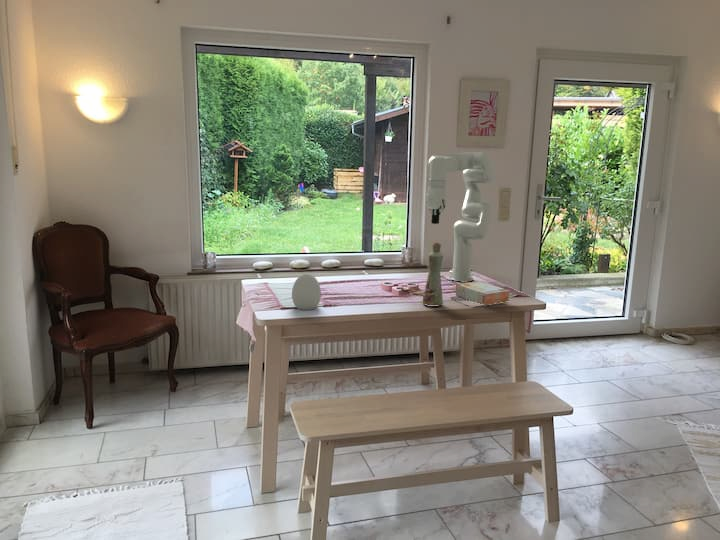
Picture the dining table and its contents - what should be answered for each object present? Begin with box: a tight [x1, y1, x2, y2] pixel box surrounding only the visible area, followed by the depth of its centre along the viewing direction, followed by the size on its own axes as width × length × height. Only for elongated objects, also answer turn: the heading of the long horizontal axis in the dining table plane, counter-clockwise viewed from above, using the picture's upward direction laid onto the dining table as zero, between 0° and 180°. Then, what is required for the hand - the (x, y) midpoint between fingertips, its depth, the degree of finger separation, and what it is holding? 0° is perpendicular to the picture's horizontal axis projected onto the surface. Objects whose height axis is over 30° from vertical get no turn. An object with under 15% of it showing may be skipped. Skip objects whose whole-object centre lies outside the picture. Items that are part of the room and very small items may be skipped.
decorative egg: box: [291, 272, 322, 311], centre depth 252 cm, size 12×12×15 cm
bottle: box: [421, 242, 444, 306], centre depth 260 cm, size 9×9×28 cm
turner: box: [410, 288, 425, 297], centre depth 283 cm, size 16×5×1 cm, turn 48°
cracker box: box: [455, 280, 510, 305], centre depth 272 cm, size 14×6×21 cm
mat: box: [450, 296, 469, 301], centre depth 272 cm, size 16×18×1 cm
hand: (435, 223), depth 279 cm, fingers closed
